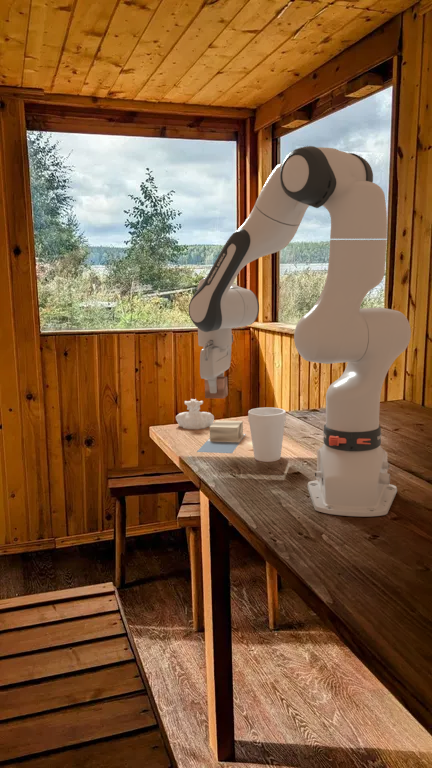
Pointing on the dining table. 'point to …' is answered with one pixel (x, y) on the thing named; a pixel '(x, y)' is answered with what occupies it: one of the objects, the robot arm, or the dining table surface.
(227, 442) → the board
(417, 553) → the dining table surface
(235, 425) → the birch slab
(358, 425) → the robot arm
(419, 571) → the dining table surface
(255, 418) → the foam cup
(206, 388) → the terracotta block
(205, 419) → the white figurine
